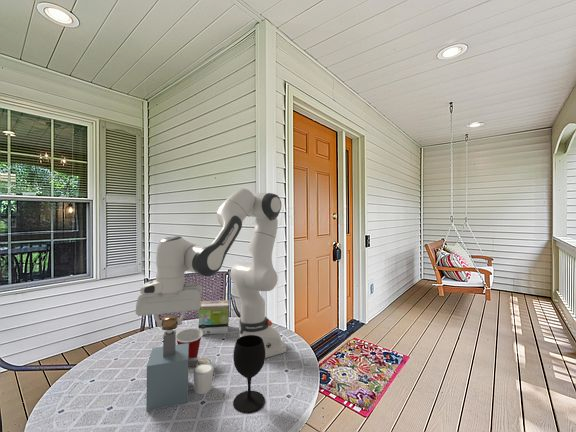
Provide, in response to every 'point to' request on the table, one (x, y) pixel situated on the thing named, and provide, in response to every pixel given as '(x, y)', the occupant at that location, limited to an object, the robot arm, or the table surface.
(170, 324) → the pump plunger
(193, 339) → the plastic cup
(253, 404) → the wine glass
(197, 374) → the shot glass
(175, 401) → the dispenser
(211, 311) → the tea box
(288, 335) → the table surface
